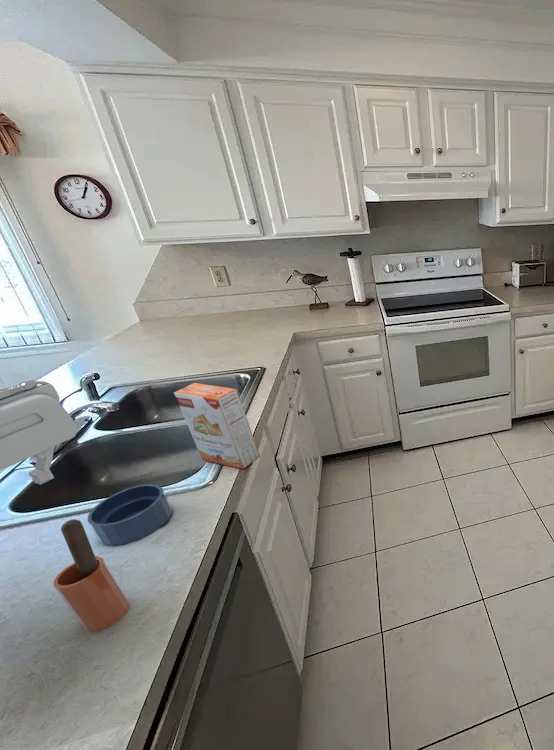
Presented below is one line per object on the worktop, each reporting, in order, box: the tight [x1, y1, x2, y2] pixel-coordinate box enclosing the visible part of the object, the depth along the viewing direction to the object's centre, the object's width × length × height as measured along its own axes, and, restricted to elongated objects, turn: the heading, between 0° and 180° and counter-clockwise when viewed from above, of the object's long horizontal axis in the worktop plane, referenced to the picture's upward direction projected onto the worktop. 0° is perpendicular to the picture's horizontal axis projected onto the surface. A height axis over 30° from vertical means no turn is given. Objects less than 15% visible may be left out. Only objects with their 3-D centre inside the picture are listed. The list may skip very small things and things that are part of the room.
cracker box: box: [173, 382, 261, 470], centre depth 104 cm, size 14×6×21 cm, turn 73°
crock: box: [53, 555, 131, 633], centre depth 67 cm, size 6×6×11 cm
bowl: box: [87, 483, 173, 547], centre depth 87 cm, size 12×12×6 cm
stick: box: [60, 518, 99, 580], centre depth 65 cm, size 2×2×20 cm
